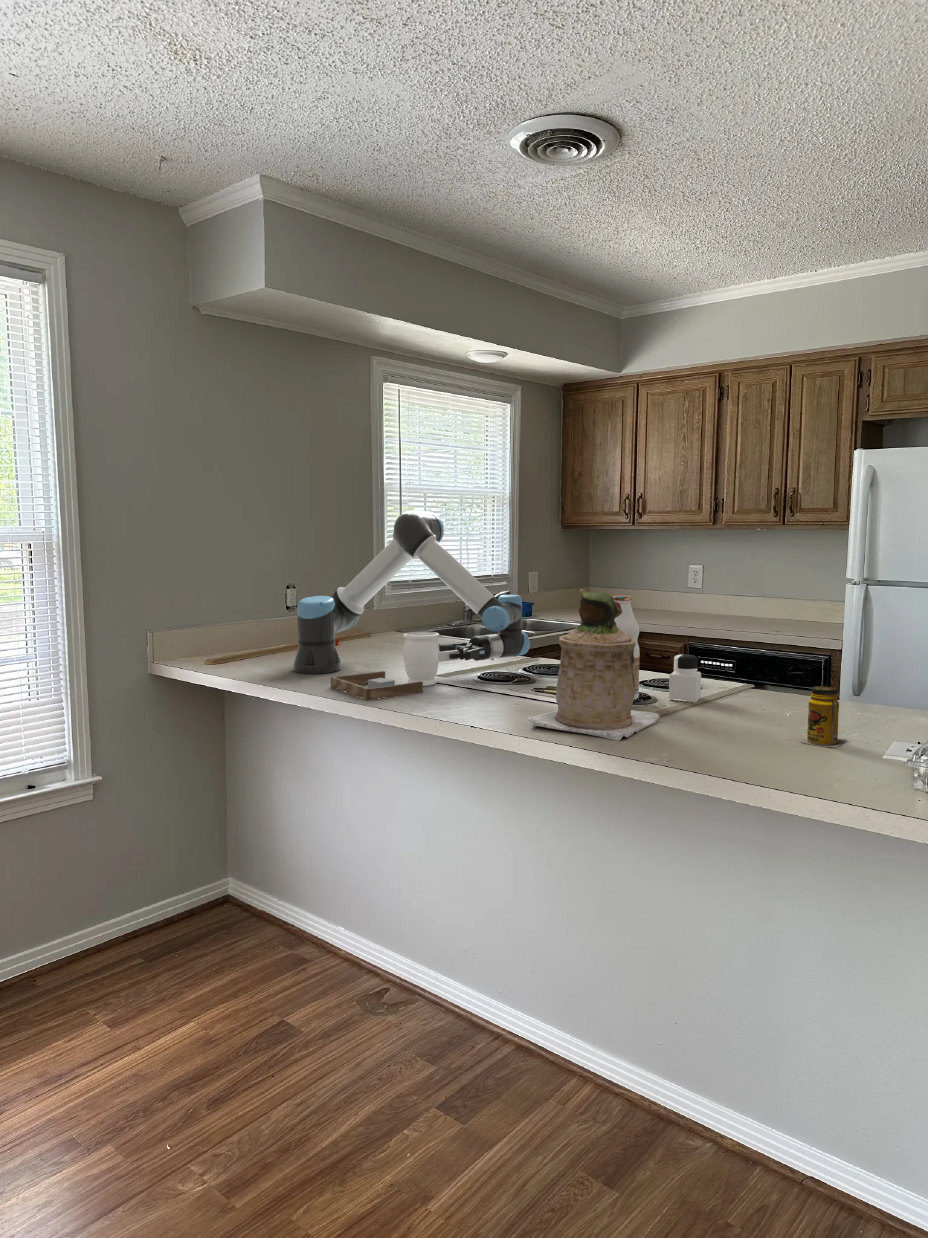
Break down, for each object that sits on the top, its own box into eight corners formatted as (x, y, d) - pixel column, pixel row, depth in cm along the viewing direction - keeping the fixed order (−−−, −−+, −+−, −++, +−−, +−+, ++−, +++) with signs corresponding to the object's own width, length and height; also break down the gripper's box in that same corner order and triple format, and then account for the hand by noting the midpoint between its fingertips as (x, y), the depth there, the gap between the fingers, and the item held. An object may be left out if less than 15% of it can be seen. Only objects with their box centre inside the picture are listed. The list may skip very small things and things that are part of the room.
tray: (331, 687, 247) (330, 677, 246) (383, 680, 257) (383, 670, 256) (367, 700, 229) (367, 689, 229) (422, 692, 239) (422, 682, 239)
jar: (441, 680, 256) (441, 631, 254) (437, 687, 246) (436, 636, 244) (406, 680, 257) (406, 631, 256) (401, 687, 247) (400, 635, 245)
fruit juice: (606, 704, 223) (608, 597, 219) (599, 697, 232) (601, 594, 229) (642, 704, 223) (644, 597, 220) (633, 696, 232) (635, 594, 229)
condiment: (800, 743, 184) (802, 688, 183) (813, 735, 190) (815, 682, 189) (835, 749, 179) (838, 692, 178) (847, 740, 186) (850, 686, 184)
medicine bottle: (700, 698, 230) (701, 654, 229) (696, 703, 224) (697, 658, 223) (673, 695, 233) (675, 652, 232) (668, 700, 227) (669, 656, 226)
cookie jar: (624, 742, 185) (627, 595, 181) (524, 728, 198) (524, 591, 194) (662, 720, 206) (665, 587, 202) (569, 708, 219) (570, 584, 215)
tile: (367, 690, 244) (367, 680, 244) (381, 687, 248) (381, 677, 247) (381, 693, 240) (380, 682, 239) (394, 690, 243) (394, 680, 243)
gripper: (509, 665, 253) (449, 672, 241) (462, 654, 273) (405, 661, 261) (509, 640, 252) (449, 646, 240) (462, 631, 273) (404, 636, 261)
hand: (426, 654), depth 251 cm, fingers open, 13 cm apart
